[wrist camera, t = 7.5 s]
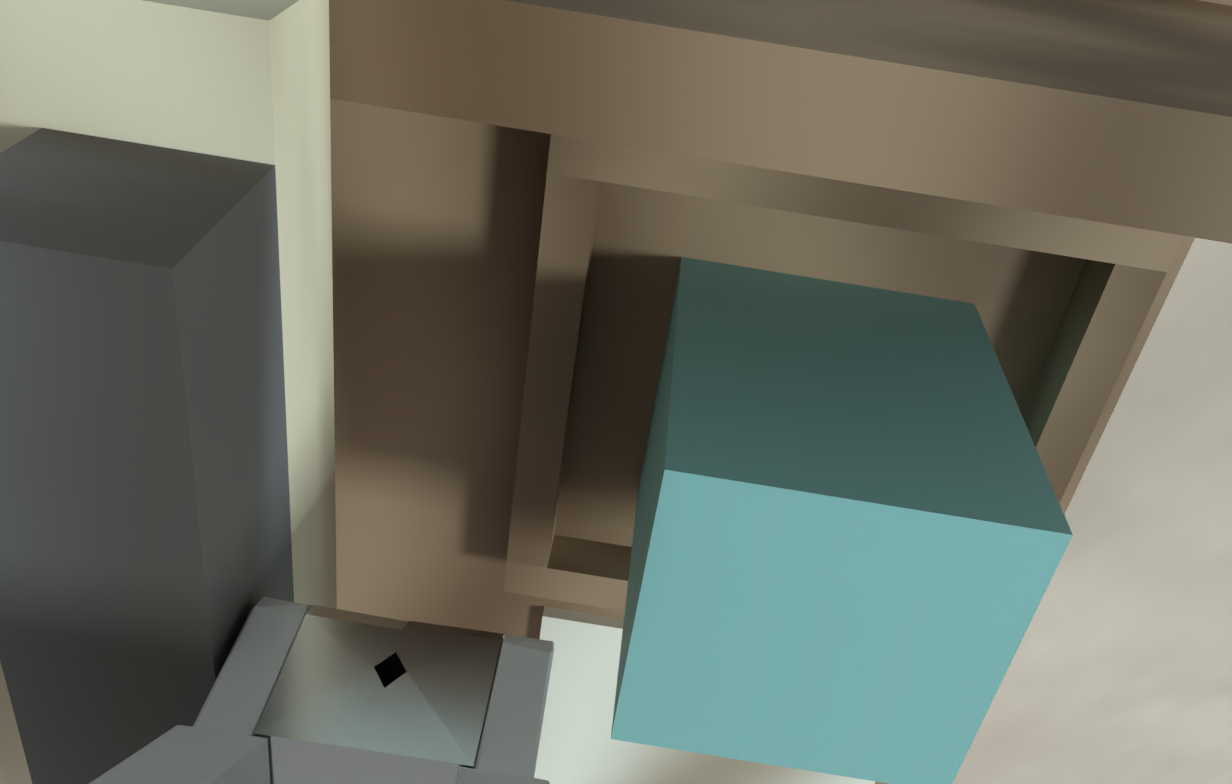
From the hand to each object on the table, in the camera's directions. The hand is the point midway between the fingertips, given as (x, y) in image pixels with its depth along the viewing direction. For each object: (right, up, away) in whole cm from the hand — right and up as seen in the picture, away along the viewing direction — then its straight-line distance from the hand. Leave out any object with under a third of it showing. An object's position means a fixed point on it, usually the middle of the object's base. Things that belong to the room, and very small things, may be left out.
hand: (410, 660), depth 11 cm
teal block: (+5, +3, +8) cm, 10 cm away
